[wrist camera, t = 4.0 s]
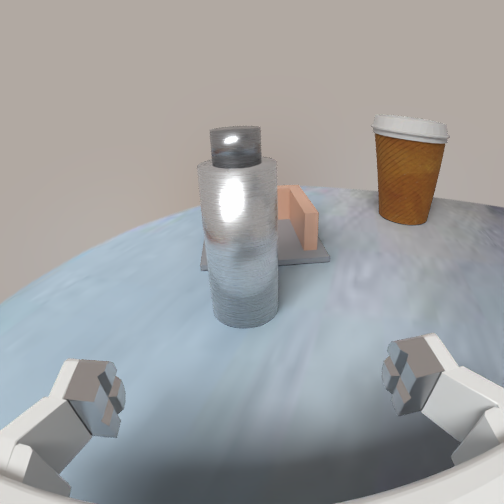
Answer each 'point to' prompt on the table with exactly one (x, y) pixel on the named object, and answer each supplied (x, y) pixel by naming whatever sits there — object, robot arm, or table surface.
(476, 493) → the robot arm
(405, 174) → the disposable coffee cup
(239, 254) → the silver water flask
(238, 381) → the table surface
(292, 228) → the dock
